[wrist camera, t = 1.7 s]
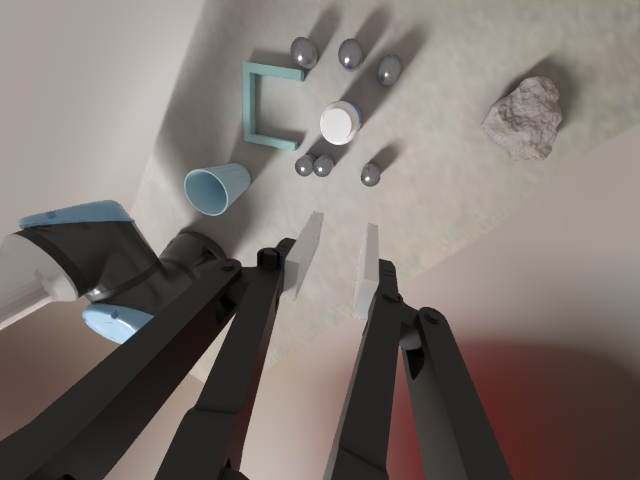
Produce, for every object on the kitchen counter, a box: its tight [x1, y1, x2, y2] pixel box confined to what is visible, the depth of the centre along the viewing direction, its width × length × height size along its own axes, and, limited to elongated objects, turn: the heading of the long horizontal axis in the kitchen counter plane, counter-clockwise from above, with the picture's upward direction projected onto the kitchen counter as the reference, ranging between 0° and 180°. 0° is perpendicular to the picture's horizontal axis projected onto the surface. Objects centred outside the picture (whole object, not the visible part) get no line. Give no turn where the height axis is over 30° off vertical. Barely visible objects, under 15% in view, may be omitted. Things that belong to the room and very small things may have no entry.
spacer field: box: [291, 37, 402, 187], centre depth 36 cm, size 16×18×4 cm
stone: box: [481, 76, 563, 160], centre depth 31 cm, size 8×10×6 cm
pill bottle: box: [320, 101, 362, 145], centre depth 34 cm, size 6×5×10 cm
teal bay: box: [242, 61, 305, 151], centre depth 38 cm, size 9×11×2 cm
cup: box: [184, 163, 251, 216], centre depth 42 cm, size 8×8×10 cm
